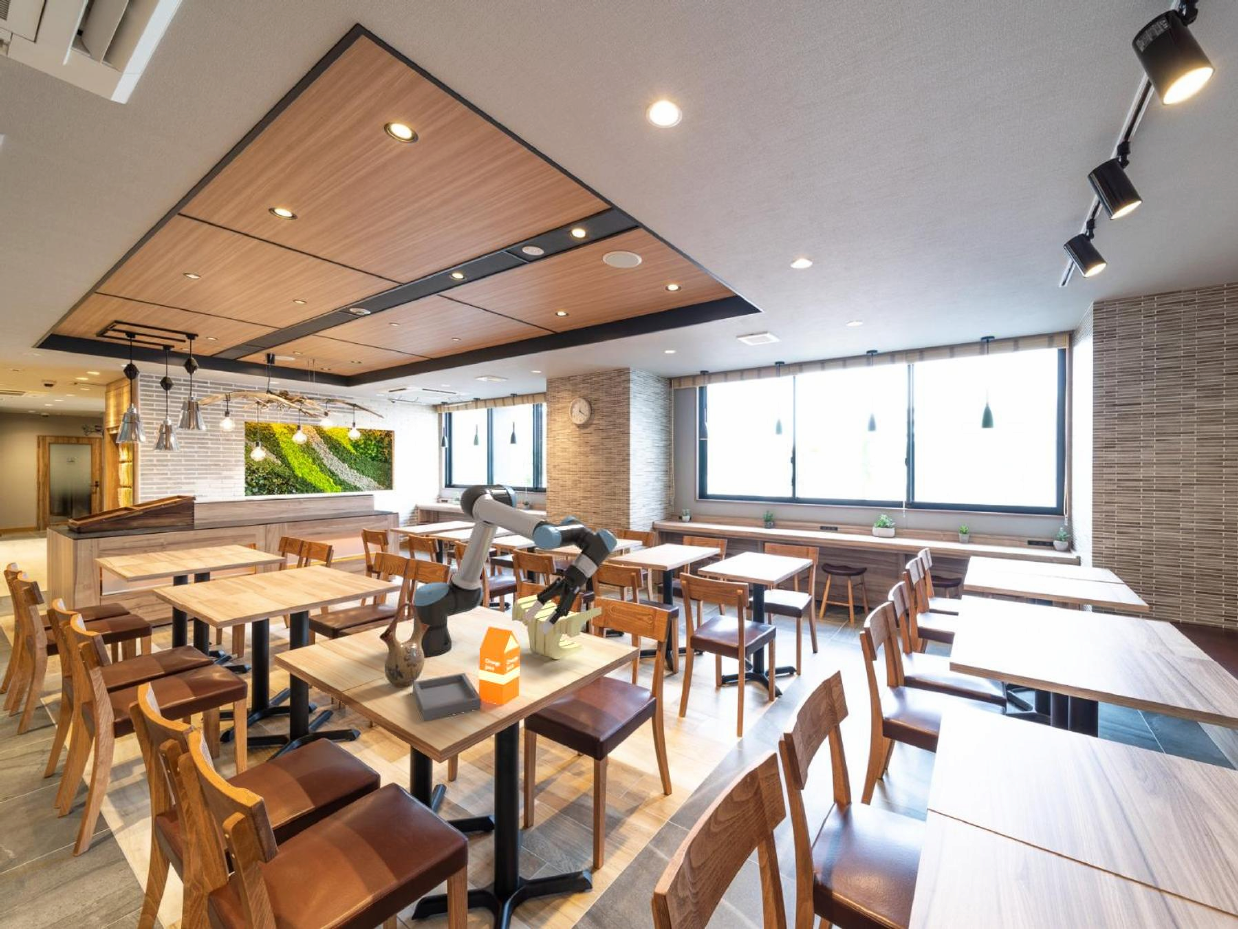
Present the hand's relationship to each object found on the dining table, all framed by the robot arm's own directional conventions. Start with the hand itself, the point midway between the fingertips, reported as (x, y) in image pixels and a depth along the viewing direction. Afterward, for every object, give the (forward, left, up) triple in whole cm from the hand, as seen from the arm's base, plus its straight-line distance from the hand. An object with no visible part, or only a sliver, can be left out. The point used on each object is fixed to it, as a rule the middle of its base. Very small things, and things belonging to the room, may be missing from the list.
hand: (533, 625), depth 153 cm
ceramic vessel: (-22, -33, -20) cm, 45 cm away
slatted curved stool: (-28, +19, -20) cm, 39 cm away
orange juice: (0, -10, -20) cm, 22 cm away
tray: (-5, -24, -20) cm, 32 cm away
